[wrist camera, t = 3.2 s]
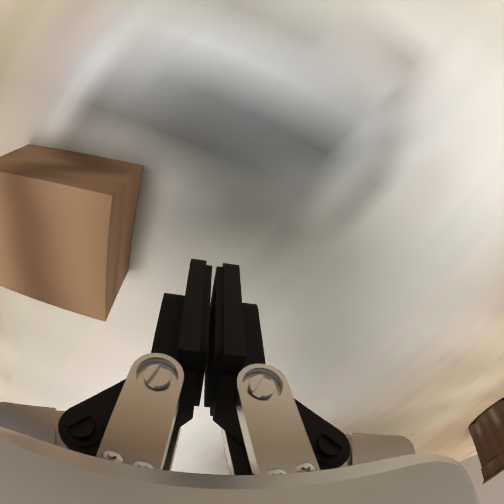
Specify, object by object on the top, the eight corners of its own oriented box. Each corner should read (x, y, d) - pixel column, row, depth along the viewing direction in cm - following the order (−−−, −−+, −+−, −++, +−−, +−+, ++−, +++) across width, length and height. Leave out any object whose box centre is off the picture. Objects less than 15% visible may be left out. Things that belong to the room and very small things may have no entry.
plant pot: (512, 384, 38) (542, 439, 24) (518, 394, 44) (542, 439, 30) (453, 431, 44) (477, 488, 30) (469, 433, 50) (489, 479, 36)
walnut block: (144, 165, 15) (112, 195, 11) (128, 269, 18) (105, 321, 14) (30, 144, 14) (-22, 167, 9) (29, 241, 17) (-8, 282, 12)
